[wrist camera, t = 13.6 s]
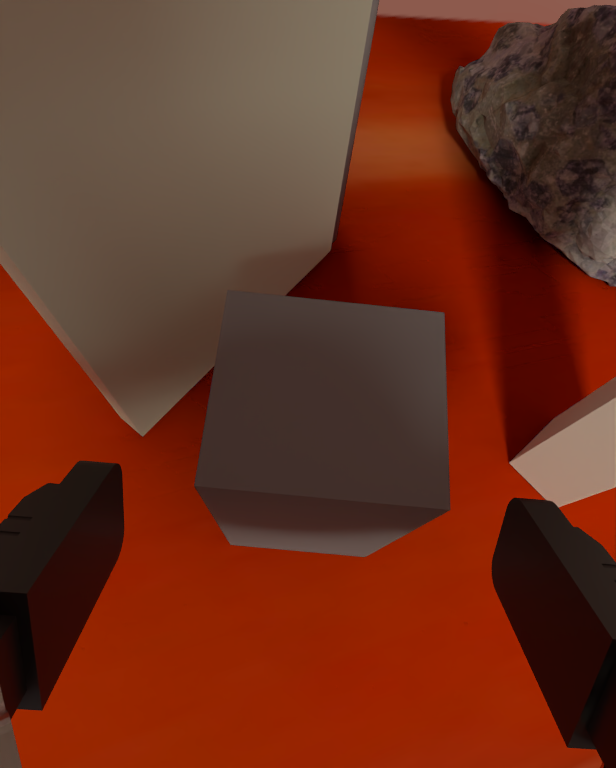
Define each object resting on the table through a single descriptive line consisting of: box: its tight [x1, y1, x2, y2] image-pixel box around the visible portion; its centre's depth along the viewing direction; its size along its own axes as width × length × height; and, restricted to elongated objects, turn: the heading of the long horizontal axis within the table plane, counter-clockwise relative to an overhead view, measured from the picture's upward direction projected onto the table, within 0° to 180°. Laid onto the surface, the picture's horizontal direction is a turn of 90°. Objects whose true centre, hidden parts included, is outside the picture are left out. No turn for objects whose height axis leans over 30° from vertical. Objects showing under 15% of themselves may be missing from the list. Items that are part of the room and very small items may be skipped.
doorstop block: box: [194, 290, 450, 557], centre depth 16 cm, size 4×5×10 cm
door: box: [0, 0, 379, 437], centre depth 15 cm, size 13×3×17 cm, turn 141°
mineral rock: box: [451, 5, 616, 286], centre depth 23 cm, size 13×11×10 cm
